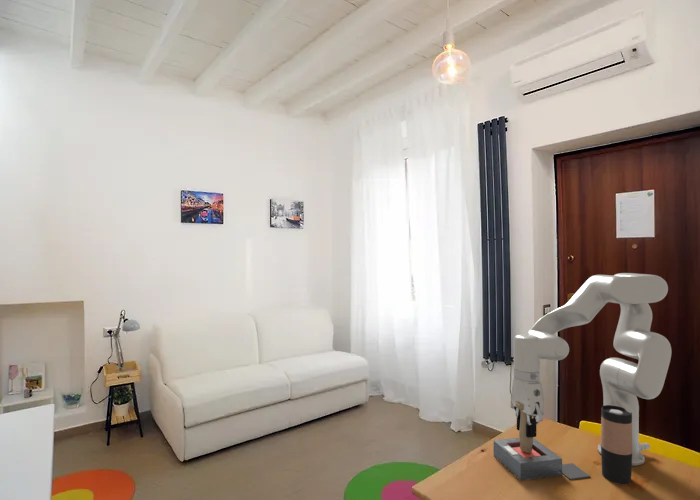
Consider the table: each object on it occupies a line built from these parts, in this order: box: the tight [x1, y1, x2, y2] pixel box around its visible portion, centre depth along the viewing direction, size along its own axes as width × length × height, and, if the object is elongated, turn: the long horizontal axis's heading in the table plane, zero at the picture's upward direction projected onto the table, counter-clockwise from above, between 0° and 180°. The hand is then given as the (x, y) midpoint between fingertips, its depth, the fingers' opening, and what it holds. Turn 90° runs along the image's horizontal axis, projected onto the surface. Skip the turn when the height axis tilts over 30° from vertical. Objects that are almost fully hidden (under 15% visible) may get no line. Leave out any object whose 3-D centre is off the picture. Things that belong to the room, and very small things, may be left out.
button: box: [513, 447, 541, 458], centre depth 121 cm, size 6×6×1 cm
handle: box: [515, 401, 534, 453], centre depth 121 cm, size 5×6×15 cm
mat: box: [562, 462, 591, 481], centre depth 117 cm, size 7×7×1 cm
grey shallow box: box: [493, 437, 563, 482], centre depth 121 cm, size 14×14×5 cm
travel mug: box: [600, 405, 633, 485], centre depth 114 cm, size 8×8×20 cm
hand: (526, 432), depth 121 cm, fingers closed on handle, 3 cm apart
